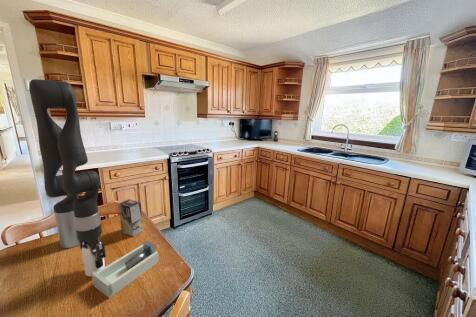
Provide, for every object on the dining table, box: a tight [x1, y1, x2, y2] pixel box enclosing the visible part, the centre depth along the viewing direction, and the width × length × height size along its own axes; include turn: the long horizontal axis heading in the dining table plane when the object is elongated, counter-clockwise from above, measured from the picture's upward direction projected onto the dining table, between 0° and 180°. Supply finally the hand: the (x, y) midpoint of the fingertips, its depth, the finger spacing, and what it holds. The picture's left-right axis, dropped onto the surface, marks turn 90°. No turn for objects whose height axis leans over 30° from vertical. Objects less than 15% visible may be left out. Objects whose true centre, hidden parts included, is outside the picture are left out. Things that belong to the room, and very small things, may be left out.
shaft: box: [125, 240, 156, 270], centre depth 82 cm, size 5×10×6 cm, turn 150°
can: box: [81, 239, 106, 278], centre depth 78 cm, size 6×6×12 cm
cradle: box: [91, 244, 160, 299], centre depth 78 cm, size 10×20×5 cm, turn 150°
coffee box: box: [118, 199, 144, 237], centre depth 104 cm, size 9×6×16 cm
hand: (94, 263), depth 78 cm, fingers open, 7 cm apart
